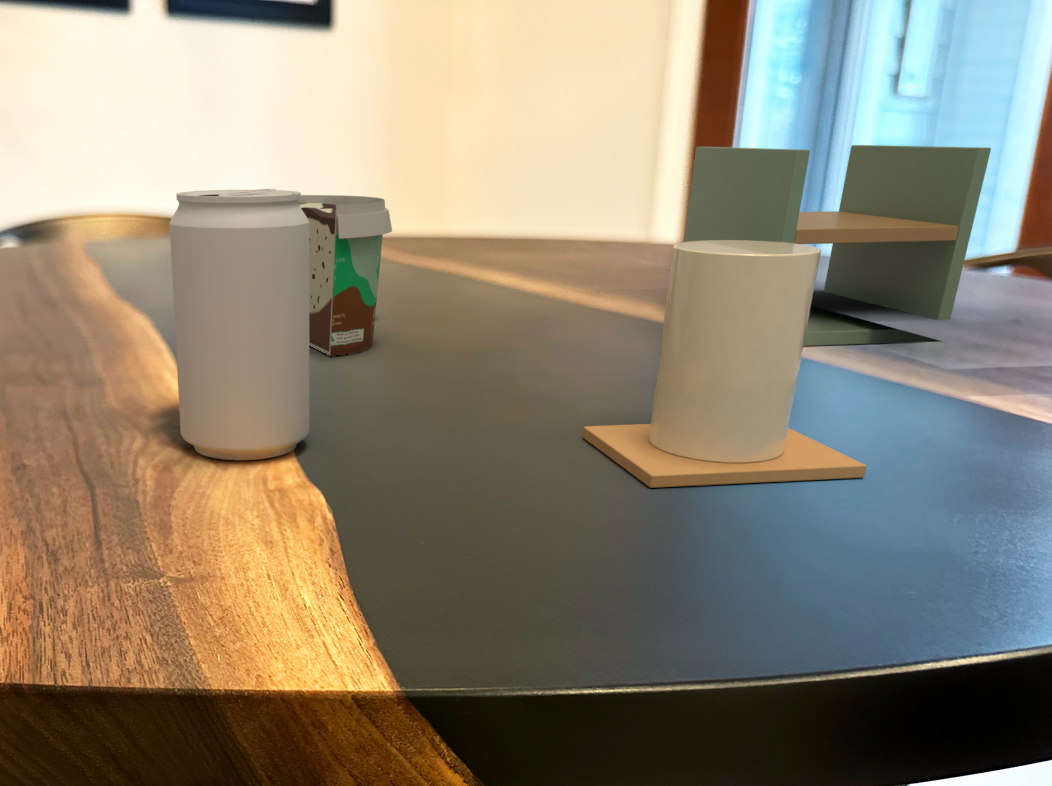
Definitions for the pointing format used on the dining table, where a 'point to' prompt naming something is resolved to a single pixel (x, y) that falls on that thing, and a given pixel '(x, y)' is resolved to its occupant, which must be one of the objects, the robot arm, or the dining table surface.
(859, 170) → the rack
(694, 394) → the cream cylinder
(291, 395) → the beverage can
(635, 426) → the mat
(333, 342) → the food container
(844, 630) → the dining table surface
